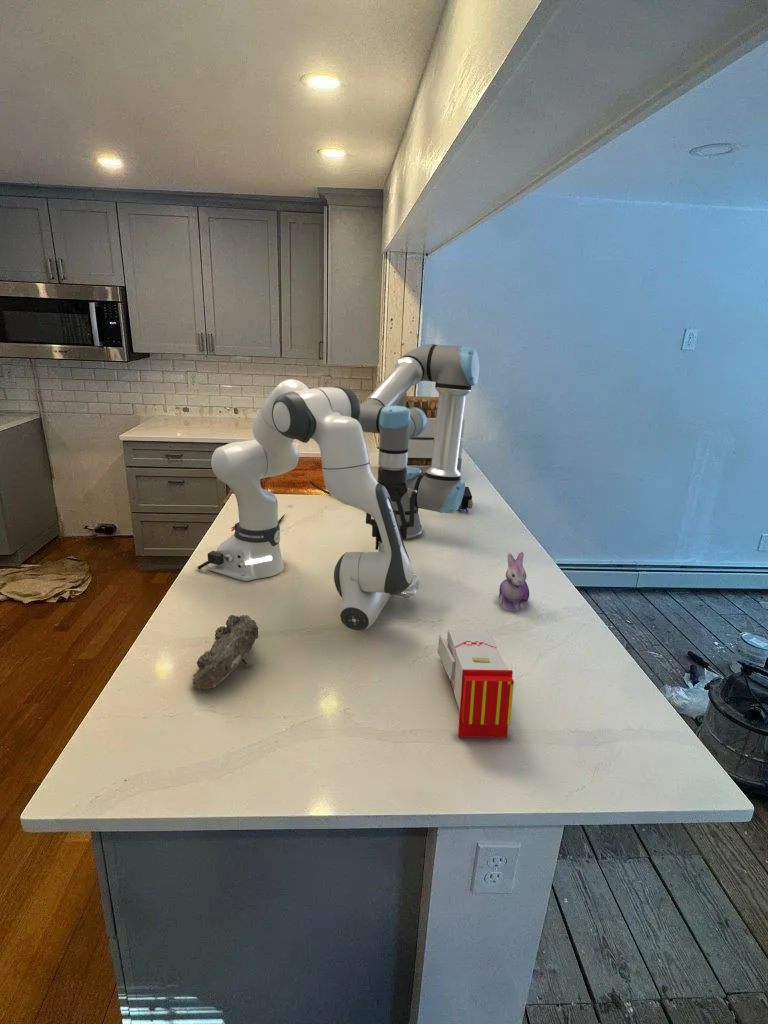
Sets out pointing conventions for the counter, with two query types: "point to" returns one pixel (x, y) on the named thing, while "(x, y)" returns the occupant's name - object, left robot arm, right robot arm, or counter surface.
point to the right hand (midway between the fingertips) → (388, 548)
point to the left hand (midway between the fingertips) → (388, 568)
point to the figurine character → (466, 500)
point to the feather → (281, 519)
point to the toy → (478, 682)
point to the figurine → (514, 585)
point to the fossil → (226, 651)
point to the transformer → (425, 431)
